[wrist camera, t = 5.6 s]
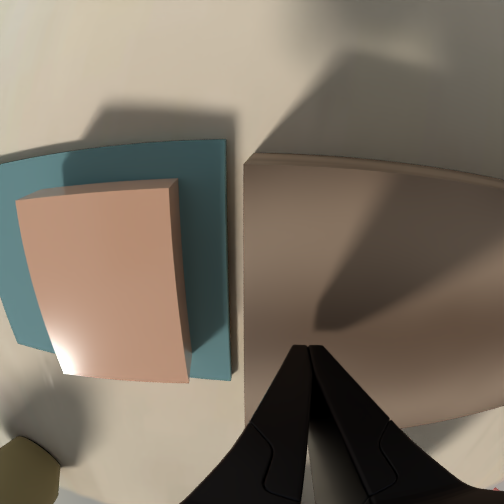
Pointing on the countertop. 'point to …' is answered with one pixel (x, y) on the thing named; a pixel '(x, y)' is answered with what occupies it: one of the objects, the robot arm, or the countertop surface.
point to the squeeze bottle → (27, 473)
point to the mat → (191, 221)
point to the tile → (110, 278)
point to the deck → (377, 280)
